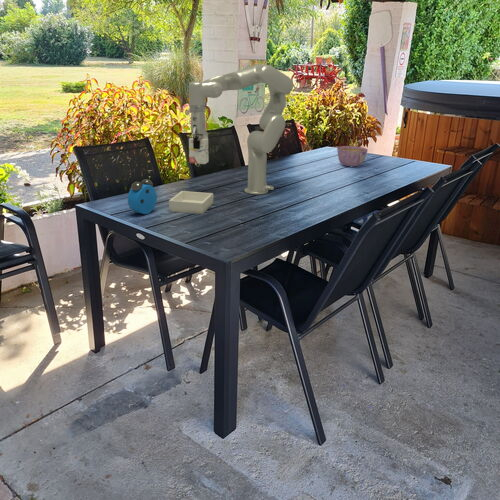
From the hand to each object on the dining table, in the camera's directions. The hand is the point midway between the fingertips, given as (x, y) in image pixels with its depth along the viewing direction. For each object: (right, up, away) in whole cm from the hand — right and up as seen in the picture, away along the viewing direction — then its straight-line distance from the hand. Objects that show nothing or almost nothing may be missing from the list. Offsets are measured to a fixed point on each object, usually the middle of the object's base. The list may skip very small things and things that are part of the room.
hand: (198, 147), depth 242 cm
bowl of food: (+92, +6, +91) cm, 130 cm away
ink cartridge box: (0, -7, +3) cm, 8 cm away
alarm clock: (-23, -34, -17) cm, 44 cm away
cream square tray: (-2, -30, -7) cm, 31 cm away
